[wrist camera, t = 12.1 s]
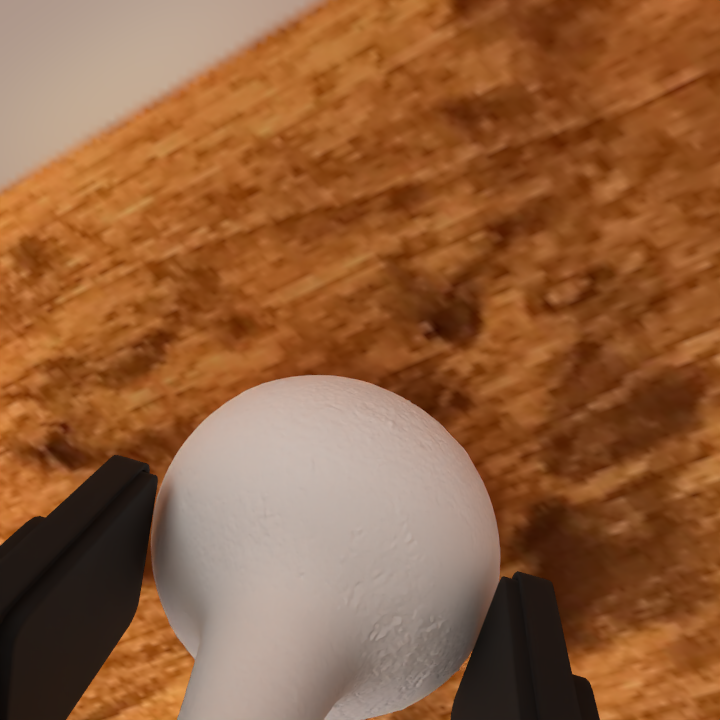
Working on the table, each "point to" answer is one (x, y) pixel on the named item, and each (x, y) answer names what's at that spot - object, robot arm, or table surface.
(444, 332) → the table surface
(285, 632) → the garlic bulb
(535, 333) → the table surface
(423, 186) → the table surface
